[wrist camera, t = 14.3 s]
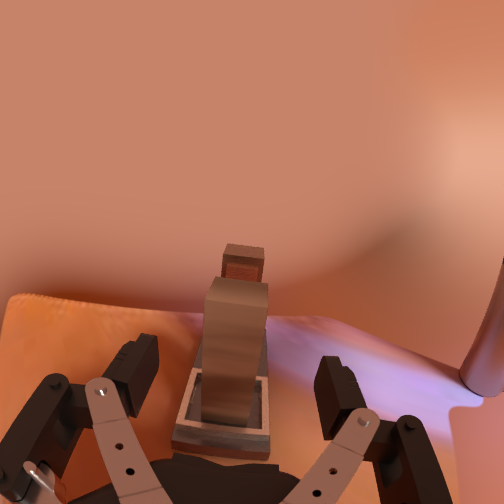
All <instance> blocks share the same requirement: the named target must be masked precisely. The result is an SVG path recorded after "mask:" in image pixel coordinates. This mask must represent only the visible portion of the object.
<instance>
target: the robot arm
mask: <svg viewBox="0 0 504 504" xmlns="http://www.w3.org/2000/svg"><path fill="white" fill-rule="evenodd" d="M158 368H159V352H158V340H157V336H154V335H149V334H144V333H141V334H140V336H139V337H138V339H137V340H136V342H134V341H129V342H128V343H126V344H125V345H123V346H122V348H121V349H120V350H119V352H118V353H117V355H116V356H115V359H113V361H112V362H111V363H110V365H109V366H108V368H107V369H106V371H105V372H104V374H103V375H102V377H98V378H94V379H92V380H90V381H89V382H88V383H87V384H86V385H80V384H70V383H69V381H68V379H67V377H66V376H64V375H62V374H59V373H54V374H50V375H48V376H46V377H45V378H44V379H43V380H42V382H41V383H40V385H39V386H38V387H37V389H36V390H35V391H34V393H33V394H32V396H31V397H30V398H29V400H28V401H27V403H26V404H25V406H24V407H23V409H22V410H21V411H20V413H19V414H18V416H17V417H16V419H15V420H14V422H13V424H12V425H11V427H10V428H9V430H8V431H7V433H6V435H5V436H4V438H3V439H2V441H1V443H0V494H1V495H2V496H3V497H4V498H5V499H6V500H8V501H9V502H10V503H12V504H66V501H65V495H66V488H65V485H64V483H63V482H62V481H61V477H62V475H63V473H64V470H65V468H66V466H67V463H68V461H69V459H70V457H71V454H72V452H73V450H74V448H75V446H76V443H77V441H78V439H79V437H80V435H81V433H82V431H83V429H84V428H89V429H94V433H95V436H96V439H97V443H98V446H99V449H100V452H101V455H102V457H103V460H104V463H105V466H106V468H107V471H108V473H109V476H110V478H111V481H112V482H111V483H109V484H107V485H105V486H103V487H101V488H99V489H97V490H95V491H92V492H90V493H88V494H86V495H84V496H81V497H79V498H77V499H74V500H72V501H70V502H68V503H67V504H335V503H336V502H337V500H338V499H339V498H340V496H341V495H342V493H343V492H344V490H345V488H346V487H347V485H348V484H349V482H350V481H351V479H352V477H353V476H354V474H355V472H356V471H357V469H358V467H359V466H360V464H361V462H362V461H369V462H372V463H373V468H374V473H375V477H376V482H377V487H378V492H379V497H380V502H381V504H453V502H452V499H451V496H450V493H449V490H448V487H447V484H446V482H445V479H444V476H443V473H442V470H441V468H440V465H439V463H438V460H437V457H436V455H435V452H434V450H433V447H432V445H431V442H430V440H429V438H428V435H427V433H426V431H425V428H424V426H423V424H422V422H421V421H420V420H419V419H418V418H417V417H415V416H412V415H404V416H401V417H400V418H399V419H398V420H397V422H392V421H386V420H381V419H379V416H378V415H377V414H376V413H375V412H374V411H372V410H370V409H368V408H367V406H366V403H365V400H364V398H363V395H362V393H361V390H360V388H359V385H358V382H357V380H356V377H355V375H354V373H353V372H352V371H351V370H350V369H349V368H348V367H347V366H342V364H341V361H340V359H339V357H338V356H323V357H322V359H321V362H320V365H319V368H318V371H317V374H316V377H315V380H314V392H315V397H316V402H317V407H318V412H319V417H320V422H321V427H322V432H323V437H324V440H332V441H331V442H330V444H329V445H328V446H327V448H326V449H325V450H324V452H323V453H322V454H321V456H320V457H319V458H318V460H317V461H316V462H315V464H314V465H313V466H312V467H311V469H310V470H309V471H308V472H307V473H306V475H305V476H304V477H303V478H302V479H301V480H300V479H298V478H296V477H295V476H293V475H290V474H288V473H285V472H281V471H279V465H275V464H245V465H236V466H222V465H219V464H216V463H214V462H211V461H208V460H205V459H203V458H200V457H195V456H189V455H184V454H179V453H174V454H173V457H172V459H160V460H155V461H152V462H148V460H147V458H146V456H145V454H144V452H143V450H142V448H141V446H140V444H139V441H138V439H137V437H136V435H135V433H134V430H133V428H132V426H131V423H130V421H129V419H128V417H129V416H131V417H134V418H137V416H138V413H139V411H140V409H141V407H142V404H143V402H144V400H145V398H146V395H147V393H148V391H149V389H150V387H151V384H152V382H153V380H154V378H155V376H156V373H157V371H158ZM460 377H461V379H462V381H463V382H464V383H465V385H466V386H467V387H468V388H469V389H471V390H472V391H473V392H475V393H477V394H479V395H482V396H485V397H495V396H497V395H499V394H500V393H501V392H504V258H503V263H502V266H501V269H500V273H499V276H498V279H497V283H496V286H495V289H494V292H493V295H492V298H491V301H490V303H489V306H488V309H487V311H486V314H485V316H484V319H483V321H482V324H481V326H480V328H479V331H478V333H477V335H476V338H475V339H474V342H473V344H472V346H471V348H470V350H469V352H468V354H467V356H466V358H465V360H464V362H463V364H462V366H461V368H460Z"/></svg>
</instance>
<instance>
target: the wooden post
mask: <svg viewBox="0 0 504 504" xmlns="http://www.w3.org/2000/svg"><path fill="white" fill-rule="evenodd" d="M267 312H268V284H267V283H260V282H252V281H245V280H237V279H230V278H223V277H215V279H214V281H213V283H212V285H211V287H210V289H209V291H208V293H207V295H206V298H205V306H204V323H203V346H202V376H201V419H205V420H211V421H217V422H224V423H231V424H238V425H247V422H248V417H249V412H250V407H251V402H252V396H253V391H254V386H255V381H256V375H257V370H258V364H259V359H260V353H261V348H262V342H263V336H264V330H265V325H266V319H267Z"/></svg>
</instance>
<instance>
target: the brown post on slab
mask: <svg viewBox="0 0 504 504" xmlns="http://www.w3.org/2000/svg"><path fill="white" fill-rule="evenodd" d="M263 266H264V248H259V247H251V246H243V245H235V244H227V246H226V248H225V251H224V253H223V262H222V271H221V277H223V278H230V279H237V280H245V281H252V282H260V283H261V279H262V273H263ZM202 346H203V336H202V340H201V343H200V346H199V349H198V352H197V355H196V358H195V362H194V365H193V368H192V371H191V374H190V377H189V380H188V383H187V387H186V390H185V393H184V396H183V400H182V403H181V406H180V410H179V413H178V416H177V420H176V423H175V427H174V430H173V434H172V437H171V444H172V448H173V449H177V450H182V451H187V452H193V453H199V454H205V455H212V456H219V457H227V458H237V459H248V460H265V461H267V460H268V458H269V455H270V424H269V396H268V371H267V346H266V329H265V330H264V336H263V342H262V348H261V353H260V359H259V364H258V370H257V375H256V381H255V386H254V391H253V396H252V402H251V407H250V412H249V417H248V422H247V425H238V424H231V423H224V422H217V421H211V420H205V419H201V376H202Z"/></svg>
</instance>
